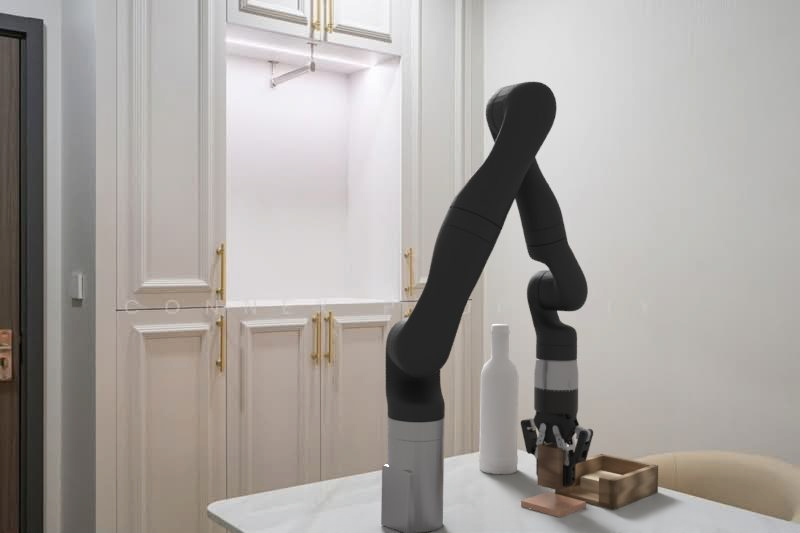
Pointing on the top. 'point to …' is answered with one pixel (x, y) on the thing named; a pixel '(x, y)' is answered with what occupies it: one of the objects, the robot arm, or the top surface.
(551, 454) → the walnut block
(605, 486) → the oak box
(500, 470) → the bottle
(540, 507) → the terracotta tile
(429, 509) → the robot arm
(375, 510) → the top surface
